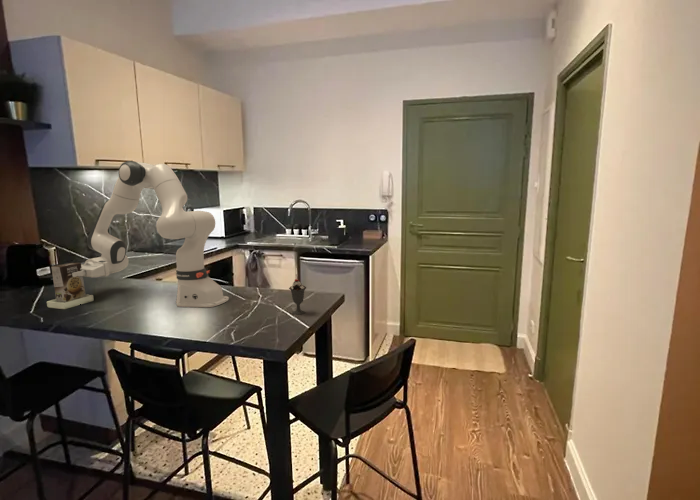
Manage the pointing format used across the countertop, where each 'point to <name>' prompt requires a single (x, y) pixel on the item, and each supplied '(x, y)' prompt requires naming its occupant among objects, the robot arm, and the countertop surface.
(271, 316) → the countertop surface
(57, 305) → the tray
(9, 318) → the countertop surface
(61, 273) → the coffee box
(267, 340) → the countertop surface
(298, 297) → the sundae
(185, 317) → the countertop surface
